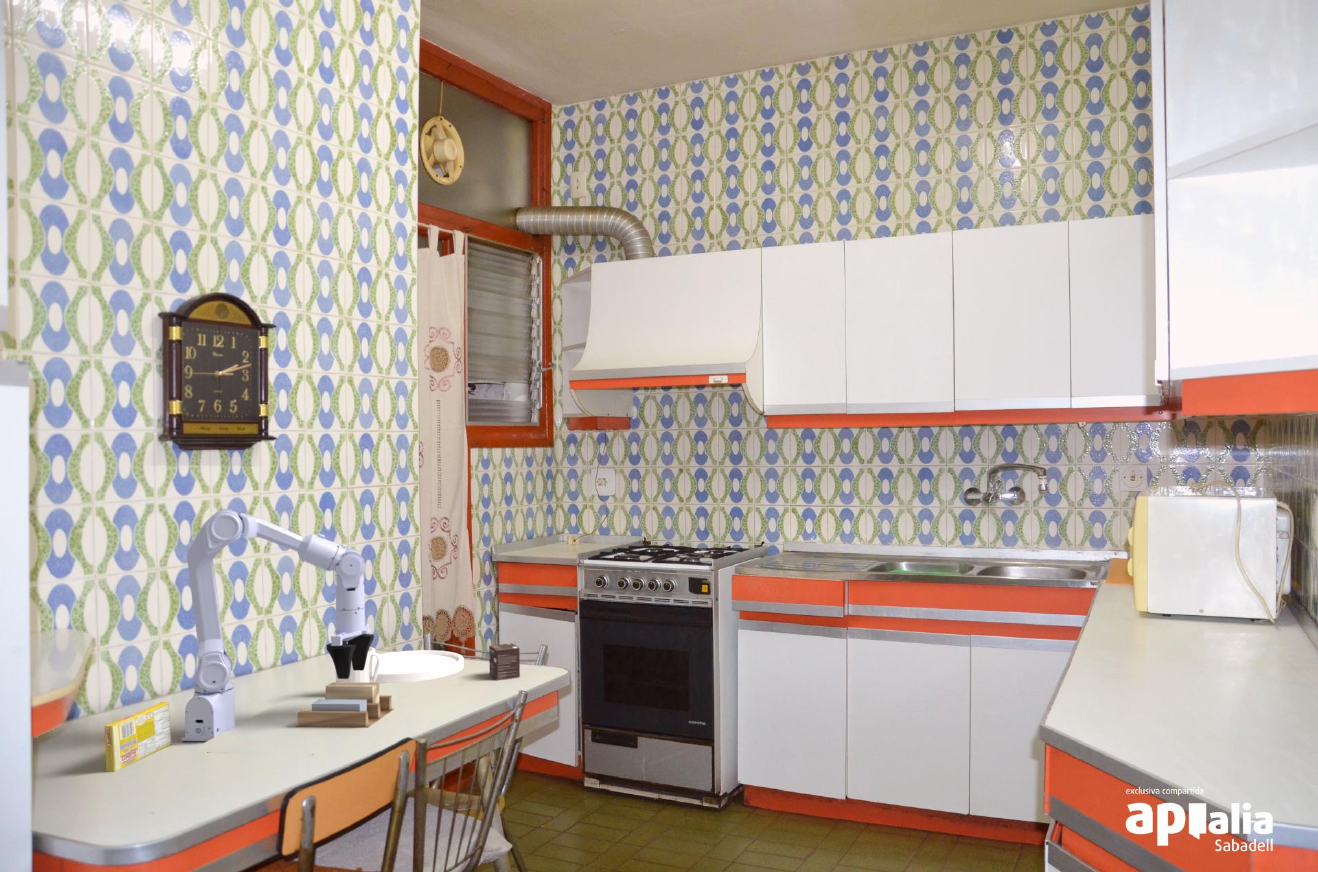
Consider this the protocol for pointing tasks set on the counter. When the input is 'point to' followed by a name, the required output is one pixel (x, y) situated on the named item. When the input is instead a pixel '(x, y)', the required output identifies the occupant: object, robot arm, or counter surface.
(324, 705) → the blue slat
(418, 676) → the plate
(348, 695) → the wooden block
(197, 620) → the robot arm
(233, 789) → the counter surface
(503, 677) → the box
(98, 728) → the counter surface
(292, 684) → the counter surface
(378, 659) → the mug
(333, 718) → the rack
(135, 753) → the candy box
